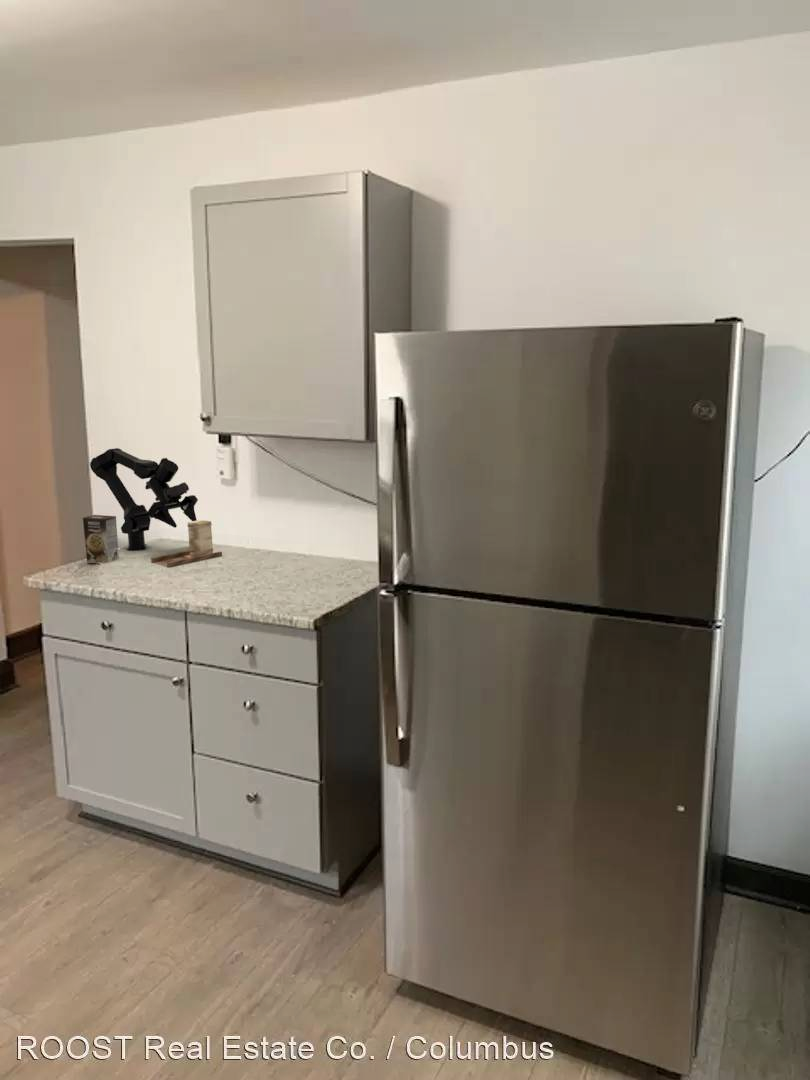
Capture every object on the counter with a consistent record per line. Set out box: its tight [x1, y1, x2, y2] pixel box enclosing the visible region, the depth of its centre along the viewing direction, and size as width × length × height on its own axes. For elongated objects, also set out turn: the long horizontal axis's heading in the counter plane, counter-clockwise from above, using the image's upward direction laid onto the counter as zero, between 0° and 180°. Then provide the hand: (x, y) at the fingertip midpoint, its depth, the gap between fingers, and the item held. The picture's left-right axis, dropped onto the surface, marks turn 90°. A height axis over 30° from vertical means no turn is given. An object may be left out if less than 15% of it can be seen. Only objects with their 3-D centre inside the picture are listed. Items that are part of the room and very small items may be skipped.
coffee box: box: [82, 514, 120, 565], centre depth 287 cm, size 9×6×16 cm
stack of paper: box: [186, 519, 214, 557], centre depth 290 cm, size 6×6×12 cm
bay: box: [150, 549, 223, 569], centre depth 287 cm, size 21×11×2 cm, turn 137°
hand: (186, 524), depth 292 cm, fingers open, 9 cm apart
